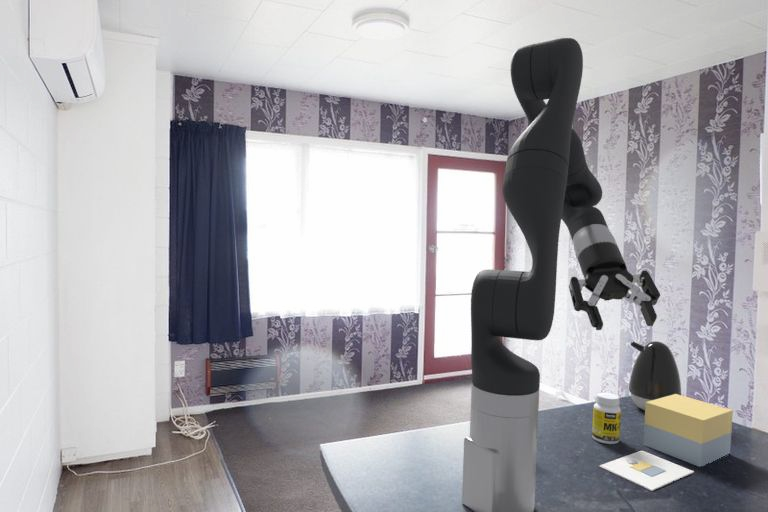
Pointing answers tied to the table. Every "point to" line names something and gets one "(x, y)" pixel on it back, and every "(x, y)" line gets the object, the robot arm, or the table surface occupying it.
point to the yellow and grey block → (688, 429)
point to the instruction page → (646, 470)
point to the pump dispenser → (653, 374)
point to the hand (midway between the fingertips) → (625, 325)
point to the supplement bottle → (606, 418)
